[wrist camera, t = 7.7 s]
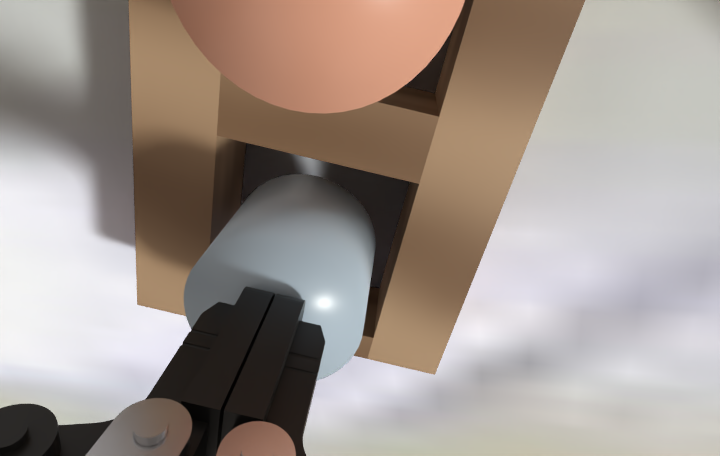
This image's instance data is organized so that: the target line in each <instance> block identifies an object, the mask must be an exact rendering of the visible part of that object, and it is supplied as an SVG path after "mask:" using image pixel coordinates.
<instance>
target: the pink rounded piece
mask: <svg viewBox="0 0 720 456" xmlns="http://www.w3.org/2000/svg"><path fill="white" fill-rule="evenodd" d="M464 2H465V0H171V3H172V5H173V7H174V9H175V11H176V13H177V15H178V17H179V19H180V21H181V23H182V25H183V27H184V28H185V30H186V31H187V33H188V34H189V36H190V37H191V39H192V40H193V42H194V43H195V45H196V46H197V47H198V49H199V50H200V51H201V52H202V53H203V55H204V56H205V57H206V58H207V60H208V61H209V62H210V63H211V64H212V65H213V66H214V67H215V68H216V69H218V70H219V71H220V72H221V73H222V74H223V75H224V76H225V77H226V78H228V79H229V80H230V81H232V82H233V83H234V84H235V85H237V86H238V87H239V88H241V89H243V90H244V91H246V92H248V93H249V94H251V95H253V96H254V97H256V98H259V99H261V100H263V101H265V102H268V103H270V104H272V105H275V106H279V107H282V108H285V109H288V110H293V111H299V112H305V113H322V114H327V113H337V112H345V111H349V110H354V109H358V108H362V107H364V106H367V105H370V104H372V103H375V102H378V101H380V100H382V99H383V98H385V97H387V96H389V95H391V94H393V93H395V92H396V91H397V90H399V89H400V88H402V87H403V86H404V85H406V84H407V83H408V82H410V81H411V80H412V79H413V78H414V77H415V76H416V75H418V74H419V73H420V72H421V71H422V70H423V69H424V68H425V67H426V66H427V65H428V63H429V62H430V61H431V60H432V59H433V57H434V56H435V55H436V54H437V53H438V51H439V50H440V48H441V47H442V45H443V44H444V42H445V41H446V39H447V38H448V36H449V35H450V33H451V31H452V29H453V27H454V25H455V23H456V21H457V19H458V17H459V15H460V13H461V10H462V7H463V4H464Z"/></svg>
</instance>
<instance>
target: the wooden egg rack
mask: <svg viewBox="0 0 720 456" xmlns="http://www.w3.org/2000/svg"><path fill="white" fill-rule="evenodd" d="M584 2H585V0H465V2H464V4H463V7H462V10H461V13H460V15H459V17H458V19H457V21H456V23H455V25H454V28H453V32H452V35H451V39H450V42H449V46H448V49H447V53H446V56H445V60H444V63H443V67H442V70H441V74H440V77H439V81H438V84H437V88H436V91H435V93H431V92H426V91H422V90H418V89H414V88H410V87H406V86H403V87H402V88H400V89H399V90H397V91H396V92H395V93H393V94H391V95H389V96H387V97H385V98H383V99H382V100H380V101H378V102H375V103H372V104H370V105H367V106H364V107H362V108H358V109H354V110H349V111H345V112H337V113H327V114H322V113H305V112H299V111H293V110H288V109H285V108H282V107H279V106H275V105H272V104H270V103H268V102H265V101H263V100H261V99H259V98H256V97H254V96H253V95H251V94H249V93H248V92H246V91H244V90H243V89H241V88H239V87H238V86H237V85H235V84H234V83H233V82H232V81H230V80H229V79H228V78H226V77H225V76H224V75H223V74H222V73H221V72H220V71H219V70H218V69H216V68H215V67H214V66H213V65H212V64H211V63H210V62H209V61H208V60H207V58H206V57H205V56H204V55H203V53H202V52H201V51H200V50H199V49H198V47H197V46H196V45H195V43H194V42H193V40H192V39H191V37H190V36H189V34H188V33H187V31H186V30H185V28H184V27H183V25H182V23H181V21H180V19H179V17H178V15H177V13H176V11H175V9H174V7H173V5H172V3H171V0H129V32H130V67H131V102H132V136H133V171H134V206H135V240H136V275H137V305H141V306H145V307H150V308H154V309H158V310H162V311H167V312H171V313H175V314H179V315H184V316H186V313H185V308H184V288H185V284H186V281H187V278H188V276H189V274H190V272H191V270H192V268H193V267H194V266H195V264H196V263H197V262H198V260H199V259H200V258H201V256H202V255H203V254H204V253H205V251H206V250H207V249H208V247H209V246H210V245H211V244H212V242H213V241H214V240H215V238H216V237H217V236H218V235H219V233H220V232H221V231H222V230H223V228H224V227H225V226H226V224H227V223H228V222H229V221H230V219H231V218H232V217H233V215H234V214H235V213H236V212H237V210H238V209H239V208H240V204H241V194H242V183H243V173H244V162H245V152H246V143H249V144H254V145H258V146H262V147H266V148H270V149H275V150H279V151H283V152H287V153H291V154H296V155H300V156H304V157H308V158H312V159H317V160H321V161H325V162H329V163H333V164H338V165H342V166H346V167H350V168H354V169H359V170H363V171H367V172H371V173H375V174H380V175H384V176H388V177H392V178H396V179H401V180H405V181H409V182H410V183H409V186H408V190H407V193H406V197H405V200H404V204H403V207H402V211H401V214H400V218H399V221H398V225H397V228H396V232H395V235H394V239H393V242H392V246H391V249H390V253H389V256H388V260H387V263H386V267H385V270H384V274H383V277H382V281H381V284H380V288H375V287H371V286H370V289H369V295H368V302H367V309H366V316H365V323H364V329H363V335H362V339H361V342H360V345H359V347H358V349H357V351H356V352H355V354H354V356H358V357H362V358H367V359H371V360H375V361H379V362H384V363H388V364H392V365H396V366H401V367H405V368H409V369H413V370H418V371H422V372H426V373H430V374H435V373H436V370H437V368H438V365H439V363H440V360H441V358H442V355H443V353H444V350H445V348H446V345H447V343H448V340H449V338H450V335H451V333H452V330H453V328H454V325H455V323H456V320H457V318H458V316H459V313H460V311H461V308H462V306H463V303H464V301H465V298H466V296H467V293H468V291H469V288H470V286H471V283H472V281H473V278H474V276H475V273H476V271H477V268H478V266H479V263H480V261H481V258H482V256H483V253H484V251H485V248H486V246H487V243H488V241H489V238H490V236H491V233H492V231H493V228H494V226H495V223H496V221H497V218H498V216H499V214H500V211H501V209H502V206H503V204H504V201H505V199H506V196H507V194H508V191H509V189H510V186H511V184H512V181H513V179H514V176H515V174H516V171H517V169H518V166H519V164H520V161H521V159H522V156H523V154H524V151H525V149H526V146H527V144H528V141H529V139H530V136H531V134H532V131H533V129H534V126H535V124H536V121H537V119H538V116H539V114H540V112H541V109H542V107H543V104H544V102H545V99H546V97H547V94H548V92H549V89H550V87H551V84H552V82H553V79H554V77H555V74H556V72H557V69H558V67H559V64H560V62H561V59H562V57H563V54H564V52H565V49H566V47H567V44H568V42H569V39H570V37H571V34H572V32H573V29H574V27H575V24H576V22H577V19H578V17H579V14H580V12H581V10H582V7H583V5H584Z"/></svg>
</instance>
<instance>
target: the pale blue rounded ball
mask: <svg viewBox="0 0 720 456" xmlns="http://www.w3.org/2000/svg"><path fill="white" fill-rule="evenodd" d="M375 246H376V239H375V231H374V228H373V224H372V222H371V219H370V217H369V215H368V213H367V212H366V210H365V208H364V207H363V206H362V204H361V203H360V202H359V201H358V200H357V199H356V198H355V197H354V196H353V195H352V194H351V193H350V192H349V191H347V190H346V189H345V188H343V187H341V186H340V185H338V184H336V183H334V182H332V181H330V180H327V179H324V178H321V177H318V176H312V175H305V174H293V175H285V176H280V177H277V178H274V179H271V180H269V181H267V182H265V183H263V184H262V185H260V186H259V187H258V188H256V189H255V190H254V191H253V192H252V193H251V194H250V195H249V196H248V198H247V199H246V200H245V201H244V203H243V204H242V205H241V207H240V208H239V209H238V210H237V212H236V213H235V214H234V215H233V217H232V218H231V219H230V221H229V222H228V223H227V224H226V226H225V227H224V228H223V230H222V231H221V232H220V233H219V235H218V236H217V237H216V238H215V240H214V241H213V242H212V244H211V245H210V246H209V247H208V249H207V250H206V251H205V253H204V254H203V255H202V256H201V258H200V259H199V260H198V262H197V263H196V264H195V266H194V267H193V268H192V270H191V272H190V274H189V276H188V278H187V281H186V284H185V288H184V308H185V313H186V317H187V320H188V323H189V325H190V327H191V329H192V327H193V326H194V324H195V323H196V321H197V320H198V318H199V317H200V315H201V314H202V313H203V312H204V311H206V310H207V309H209V308H210V307H212V306H213V305H215V304H216V303H218V302H222V303H227V304H231V305H235V303H236V302H237V300H238V298H239V296H240V295H241V293H242V291H243V289H244V288H245V287H246V286H247V287H251V288H255V289H260V290H264V291H268V292H272V293H275V296H276V294H281V295H286V296H290V297H294V298H298V299H303V300H305V308H304V313H303V318H302V321H304V322H308V323H312V324H316V325H321V328H322V332H323V335H324V339H325V346H324V350H323V355H322V359H321V363H320V368H319V372H318V376H317V380H319V379H322V378H325V377H327V376H329V375H331V374H333V373H335V372H336V371H338V370H339V369H341V368H342V367H343V366H344V365H345V364H346V363H348V362H349V360H350V359H351V358H352V357H353V356H354V354H355V352H356V351H357V349H358V347H359V345H360V342H361V339H362V335H363V329H364V323H365V316H366V309H367V302H368V295H369V289H370V282H371V275H372V268H373V262H374V255H375Z"/></svg>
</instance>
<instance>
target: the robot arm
mask: <svg viewBox="0 0 720 456" xmlns="http://www.w3.org/2000/svg"><path fill="white" fill-rule="evenodd" d="M304 308H305V300H303V299H298V298H294V297H290V296H286V295H281V294H276V296H275V293H272V292H268V291H264V290H260V289H255V288H251V287H247V286H246V287H245V288H244V289H243V291H242V293H241V295H240V296H239V298H238V300H237V302H236V303H235V305H231V304H227V303H222V302H218V303H216V304H215V305H213V306H212V307H210V308H209V309H207V310H206V311H204V312H203V313H202V314H201V315H200V317H199V318H198V320H197V321H196V323H195V324H194V326H193V327H192V330H191V332H189V334H188V335H187V337H186V338H185V340H184V341H183V345H181V346H180V348H179V349H178V351H177V352H176V354H175V355H174V357H173V358H172V360H171V362H170V363H169V365H168V366H167V368H166V369H165V371H164V372H163V374H162V375H161V377H160V379H159V380H158V382H157V383H156V385H155V386H154V388H153V389H152V391H151V392H150V394H149V395H148V397H147V398H146V399H145V400H142V401H139V402H137V403H135V404H132V405H131V406H129V407H127V408H126V409H124V410H123V411H122V412H121V413H120V414H119V415H118V416H117V417H116V418H115V419H113V420H110V421H106V422H100V423H89V424H73V425H58V423H57V420H56V417H55V415H54V414H53V413H52V412H51V411H50V410H49V409H47V408H45V407H43V406H39V405H35V404H17V405H11V406H7V407H3V408H0V456H306V454H305V451H304V447H303V434H304V430H305V426H306V421H307V417H308V413H309V409H310V405H311V401H312V397H313V393H314V389H315V385H316V381H317V376H318V372H319V368H320V363H321V359H322V355H323V350H324V346H325V339H324V335H323V332H322V328H321V325H316V324H312V323H308V322H304V321H302V318H303V313H304Z"/></svg>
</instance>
